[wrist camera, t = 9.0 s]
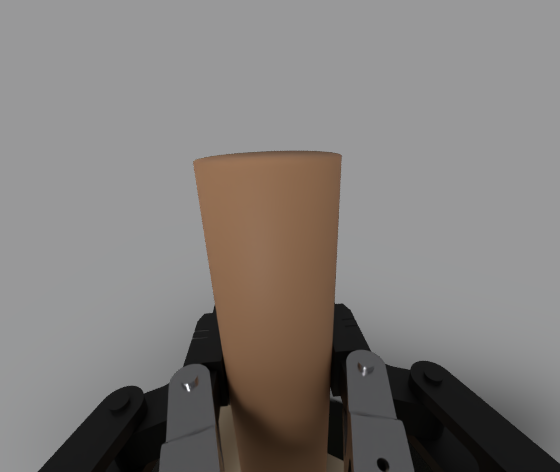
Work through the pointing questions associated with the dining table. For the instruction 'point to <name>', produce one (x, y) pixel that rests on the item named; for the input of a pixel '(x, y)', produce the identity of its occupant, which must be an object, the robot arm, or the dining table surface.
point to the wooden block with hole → (231, 452)
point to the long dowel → (274, 297)
